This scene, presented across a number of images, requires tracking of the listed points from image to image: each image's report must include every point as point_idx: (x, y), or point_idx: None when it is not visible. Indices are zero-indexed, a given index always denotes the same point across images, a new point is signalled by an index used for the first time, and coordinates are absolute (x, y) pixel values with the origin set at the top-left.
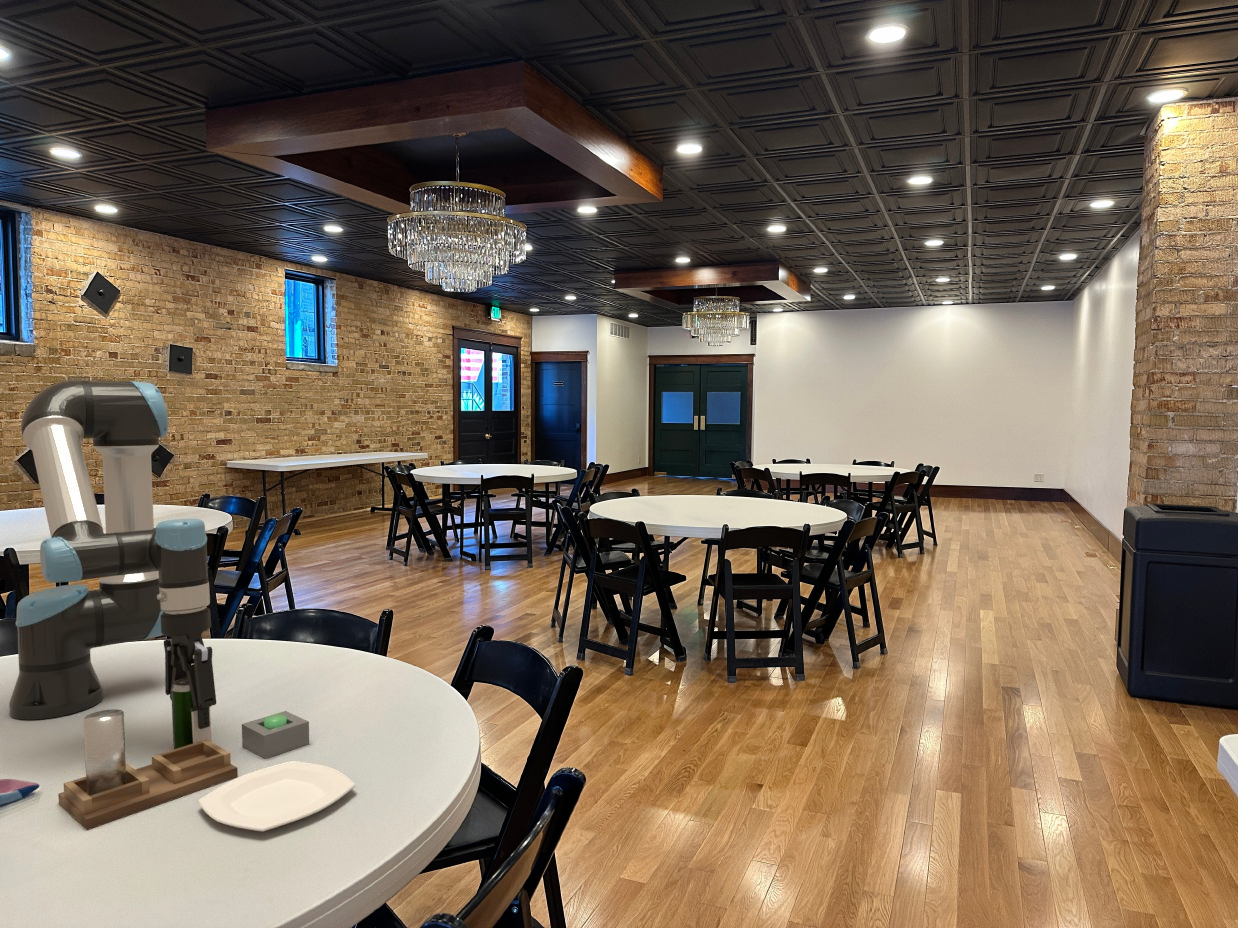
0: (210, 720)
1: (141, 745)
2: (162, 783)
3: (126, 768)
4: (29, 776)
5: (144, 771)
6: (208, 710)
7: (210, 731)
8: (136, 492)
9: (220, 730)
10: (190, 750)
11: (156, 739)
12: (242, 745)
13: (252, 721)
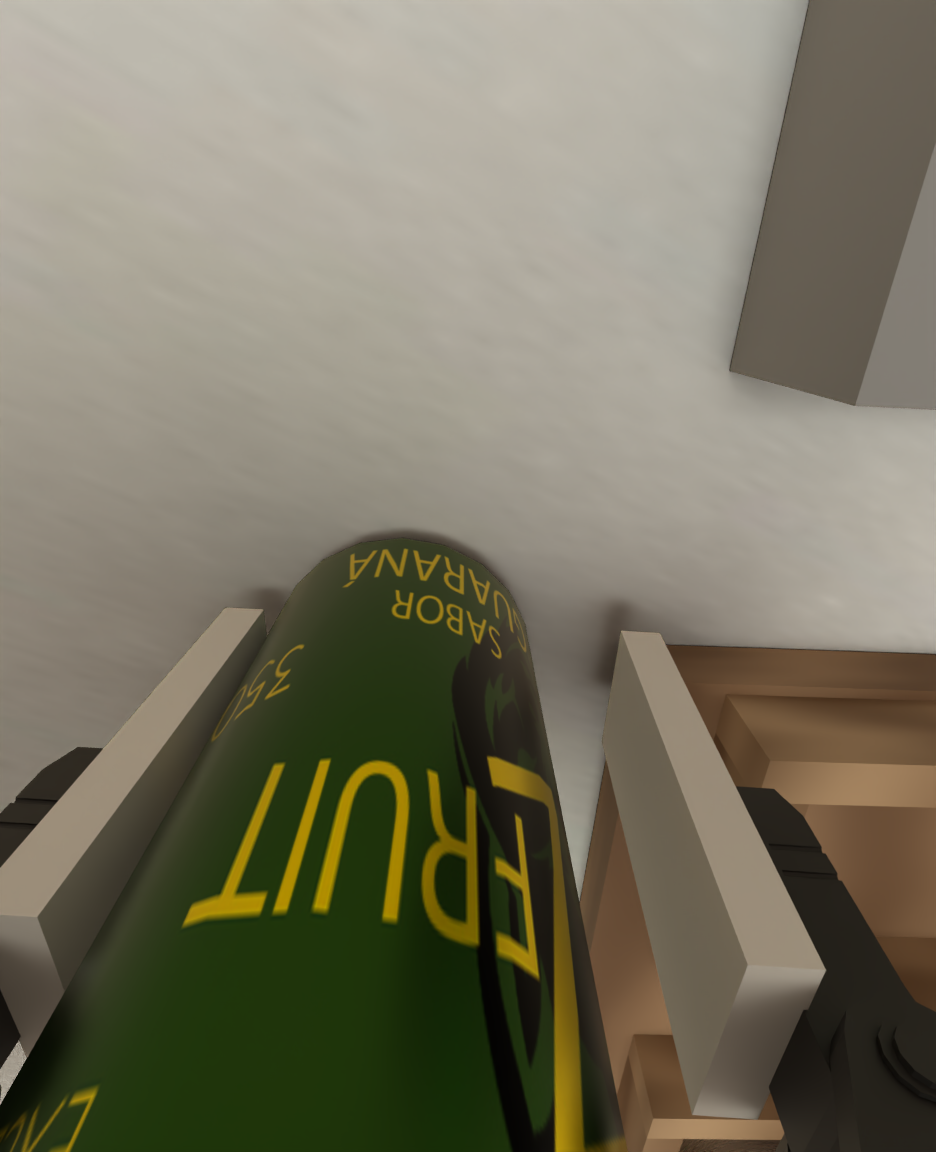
0: (733, 783)
1: None
2: None
3: (711, 1131)
4: None
5: (654, 983)
6: (904, 992)
7: (689, 703)
8: None
9: (172, 293)
10: None
11: (29, 702)
12: (734, 371)
13: (921, 249)
